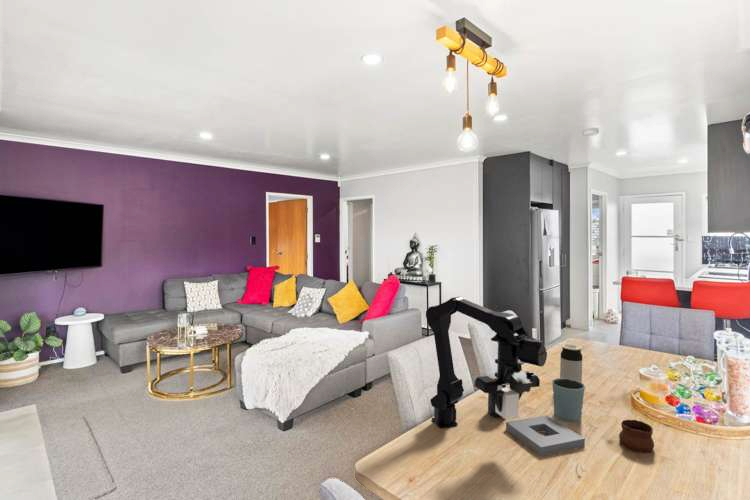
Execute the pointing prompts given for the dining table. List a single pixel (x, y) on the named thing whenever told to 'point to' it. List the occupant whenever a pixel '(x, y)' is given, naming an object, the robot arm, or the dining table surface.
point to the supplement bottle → (493, 405)
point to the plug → (509, 404)
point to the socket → (554, 443)
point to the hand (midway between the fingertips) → (506, 410)
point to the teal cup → (568, 399)
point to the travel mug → (571, 362)
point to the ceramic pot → (636, 436)
